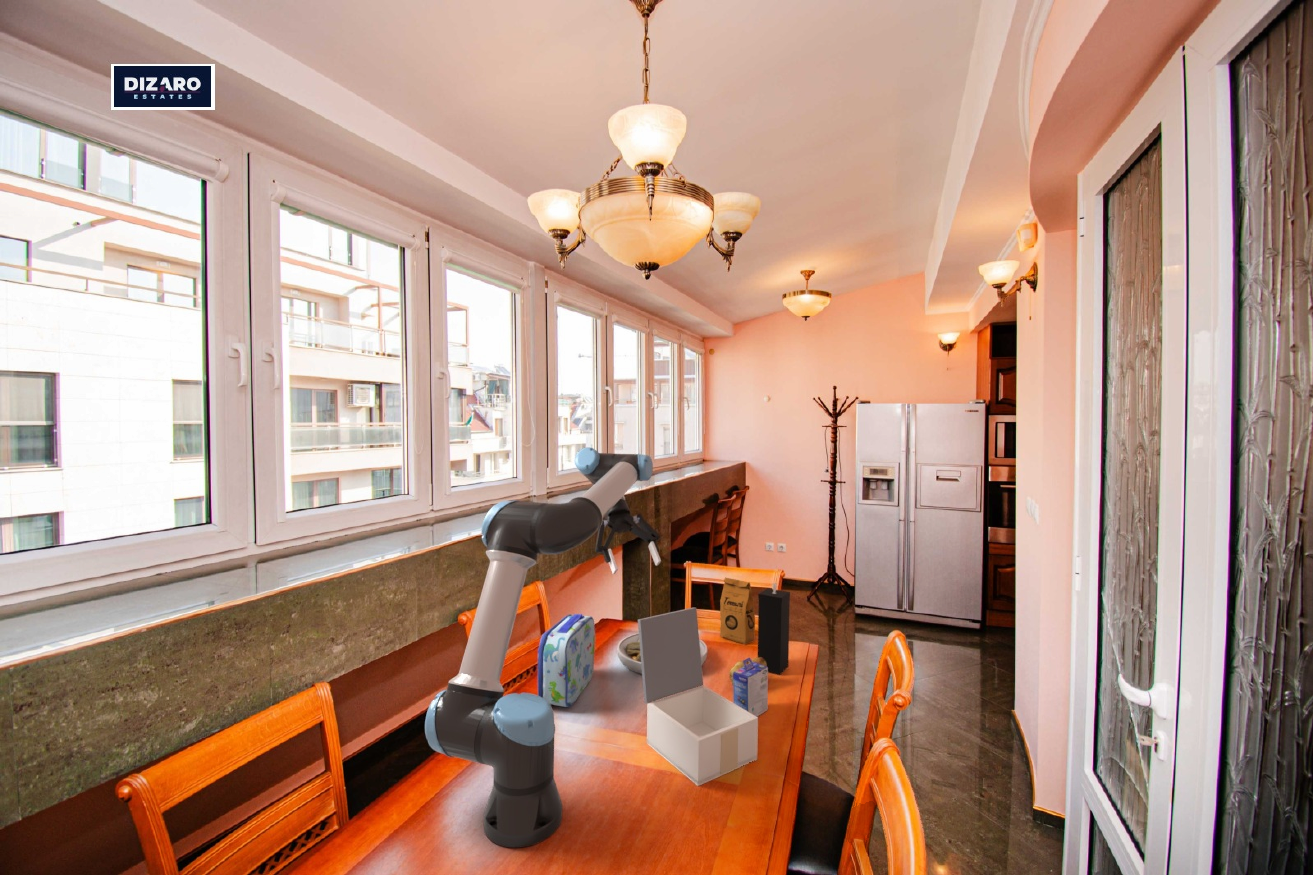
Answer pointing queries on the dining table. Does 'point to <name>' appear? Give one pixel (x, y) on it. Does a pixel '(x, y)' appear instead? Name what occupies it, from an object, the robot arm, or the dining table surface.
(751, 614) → the coffee package
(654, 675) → the box lid
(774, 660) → the black pillar candle
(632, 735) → the dining table surface
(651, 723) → the storage box
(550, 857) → the dining table surface
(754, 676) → the ink cartridge box
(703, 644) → the bowl
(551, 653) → the lunch box
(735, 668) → the bread roll
